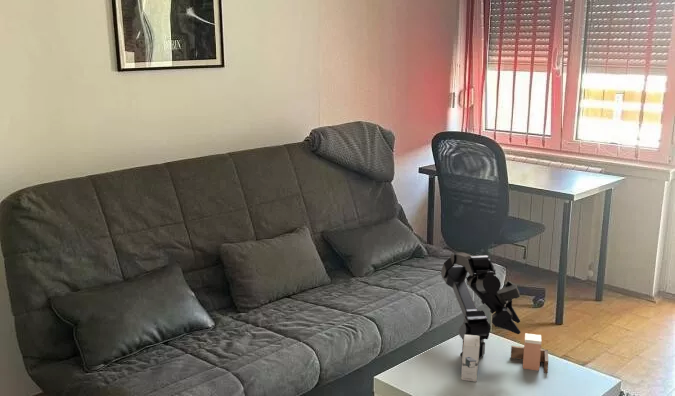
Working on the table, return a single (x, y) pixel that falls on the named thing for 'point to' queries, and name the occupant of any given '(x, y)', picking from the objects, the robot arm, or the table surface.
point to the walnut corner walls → (519, 352)
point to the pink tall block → (532, 351)
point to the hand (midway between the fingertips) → (519, 327)
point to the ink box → (470, 357)
